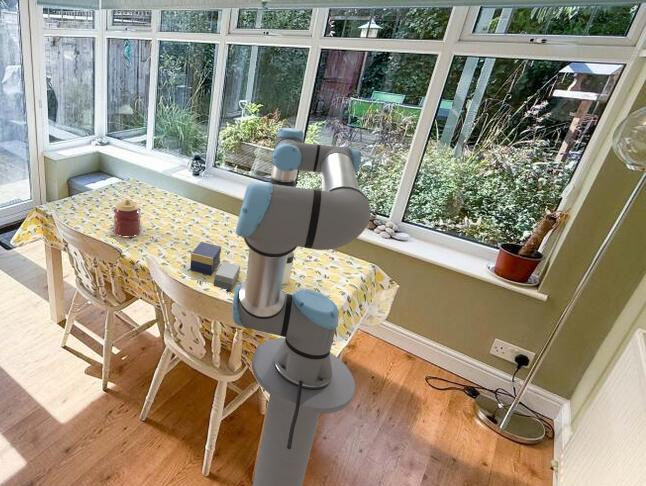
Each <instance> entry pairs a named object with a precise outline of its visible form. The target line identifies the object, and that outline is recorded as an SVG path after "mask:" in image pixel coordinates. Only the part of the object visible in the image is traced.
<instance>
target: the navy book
mask: <svg viewBox="0 0 646 486" xmlns="http://www.w3.org/2000/svg"><path fill="white" fill-rule="evenodd" d="M221 253H222V246H221V245H216V244H212V243H208V242H203V241H200V242H199V243H198V245H197V246H196V247H195V248H194V249H193V250H192V252H191V253H190V261H191V260H193V261H197V262H201V263H205V264H209V265H213V263H214V262H215V260H216V259H217V257H218V256H219V255H220V256H221Z"/></svg>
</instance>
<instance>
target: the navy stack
mask: <svg viewBox="0 0 646 486" xmlns="http://www.w3.org/2000/svg"><path fill="white" fill-rule="evenodd" d="M220 263H221V254H220V255H219V256H218V257H217V259H216V260H215V262H214V263H213V265H209V264H205V263H201V262H197V261H193V260H191V259H190V268H189V271H192V272H196V273H199V274H202V275H207V276H210V277H212V276H213V274H214V272H215V271H216V269H217V268H218V266H219V265H220Z"/></svg>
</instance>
